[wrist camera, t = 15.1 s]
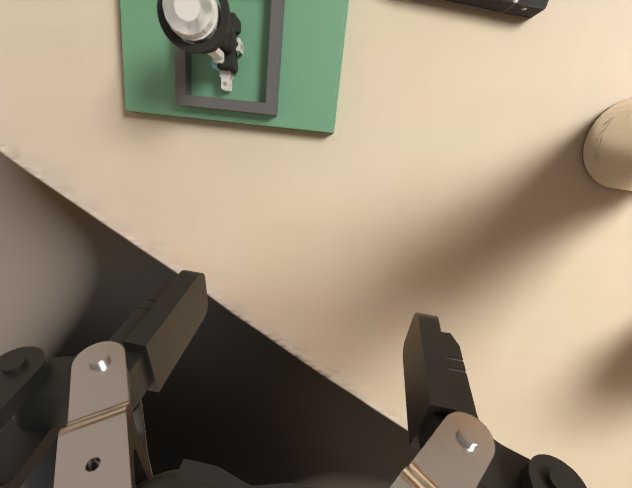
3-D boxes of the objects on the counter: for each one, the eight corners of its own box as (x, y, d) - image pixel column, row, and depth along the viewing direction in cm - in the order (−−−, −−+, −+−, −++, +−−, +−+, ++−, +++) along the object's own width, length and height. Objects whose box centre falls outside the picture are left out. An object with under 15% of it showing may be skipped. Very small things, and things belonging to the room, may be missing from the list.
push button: (254, 93, 34) (225, 71, 25) (203, 90, 34) (153, 66, 25) (256, 19, 32) (224, -37, 23) (201, 15, 32) (147, -42, 23)
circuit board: (356, -68, 31) (359, -99, 28) (333, 133, 36) (333, 131, 32) (124, -91, 32) (96, -124, 28) (133, 111, 37) (110, 107, 33)
